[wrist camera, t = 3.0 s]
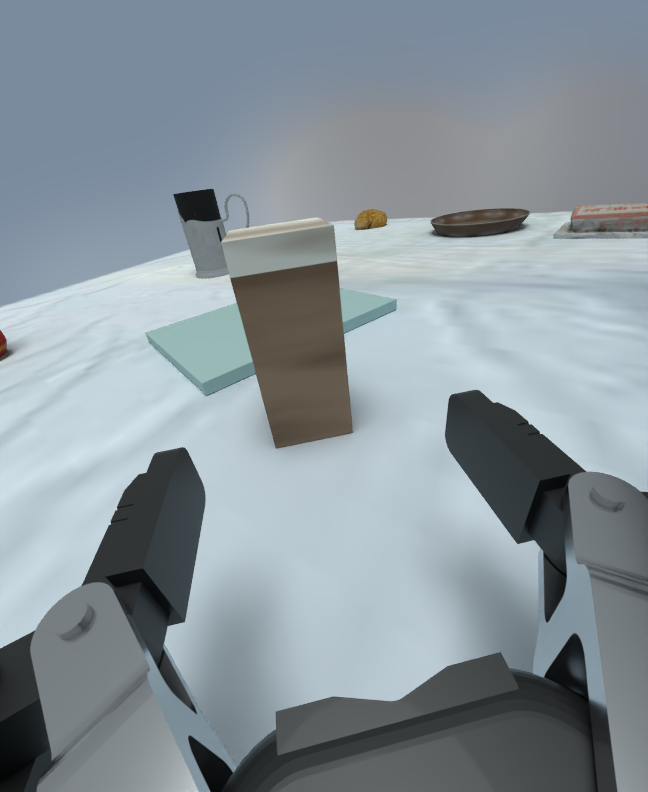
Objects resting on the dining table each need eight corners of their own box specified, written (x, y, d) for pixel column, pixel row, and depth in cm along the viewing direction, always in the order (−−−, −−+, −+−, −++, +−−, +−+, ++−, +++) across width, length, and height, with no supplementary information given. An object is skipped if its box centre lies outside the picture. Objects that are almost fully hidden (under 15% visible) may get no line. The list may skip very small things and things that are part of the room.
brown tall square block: (273, 405, 25) (229, 230, 18) (337, 392, 25) (317, 217, 19) (276, 448, 21) (220, 242, 14) (352, 432, 21) (333, 224, 14)
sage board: (306, 288, 51) (305, 281, 50) (396, 309, 39) (396, 299, 38) (149, 342, 39) (145, 332, 39) (206, 395, 27) (202, 383, 26)
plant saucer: (504, 240, 64) (507, 221, 62) (412, 239, 78) (413, 223, 76) (540, 222, 75) (544, 206, 74) (455, 224, 89) (456, 210, 87)
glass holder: (205, 270, 75) (182, 193, 67) (265, 263, 73) (249, 184, 65) (189, 280, 68) (161, 195, 59) (255, 273, 66) (235, 184, 57)
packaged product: (703, 196, 53) (706, 204, 47) (689, 229, 55) (690, 241, 49) (569, 203, 63) (558, 211, 57) (562, 231, 66) (551, 241, 60)
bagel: (346, 230, 104) (345, 213, 102) (371, 224, 109) (371, 208, 107) (368, 231, 97) (368, 213, 95) (394, 225, 102) (394, 207, 100)
